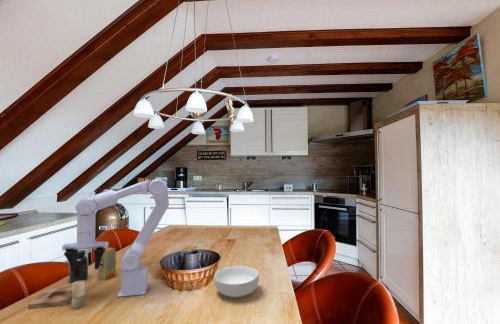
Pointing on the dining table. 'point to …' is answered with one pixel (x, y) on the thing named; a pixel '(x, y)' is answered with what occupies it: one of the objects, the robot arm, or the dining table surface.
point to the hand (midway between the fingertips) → (85, 269)
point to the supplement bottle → (79, 268)
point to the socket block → (48, 301)
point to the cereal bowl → (236, 280)
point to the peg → (78, 294)
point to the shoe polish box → (107, 264)
